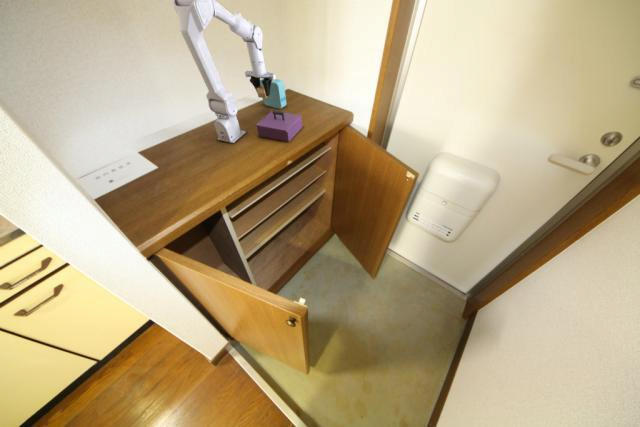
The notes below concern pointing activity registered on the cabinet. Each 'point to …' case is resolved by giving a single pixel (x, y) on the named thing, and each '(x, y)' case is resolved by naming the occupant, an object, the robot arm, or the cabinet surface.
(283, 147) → the cabinet surface
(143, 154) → the cabinet surface
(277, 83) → the teal flat upright piece
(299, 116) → the lid
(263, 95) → the block
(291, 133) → the purple flat box
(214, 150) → the cabinet surface
